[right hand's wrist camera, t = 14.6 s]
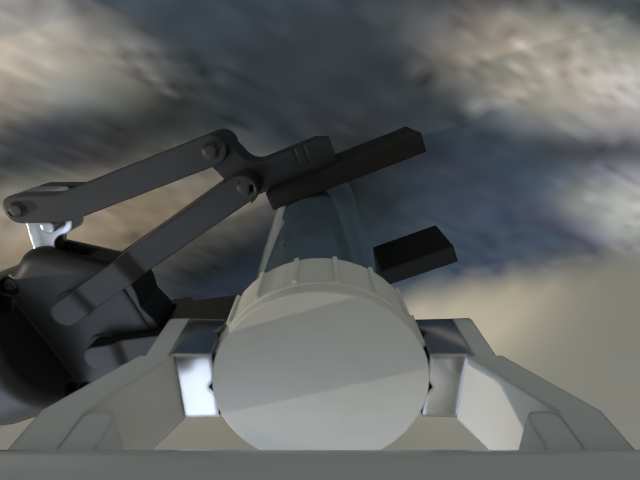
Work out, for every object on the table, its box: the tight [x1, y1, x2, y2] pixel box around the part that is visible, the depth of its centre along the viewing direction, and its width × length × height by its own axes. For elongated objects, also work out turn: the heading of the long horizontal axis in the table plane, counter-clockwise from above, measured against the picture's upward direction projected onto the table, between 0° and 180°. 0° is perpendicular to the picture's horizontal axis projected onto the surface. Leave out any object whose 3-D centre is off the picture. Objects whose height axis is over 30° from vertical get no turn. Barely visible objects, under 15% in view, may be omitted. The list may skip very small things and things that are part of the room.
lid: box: [212, 256, 430, 450], centre depth 9 cm, size 5×5×2 cm
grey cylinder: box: [253, 181, 385, 282], centre depth 16 cm, size 4×4×16 cm
